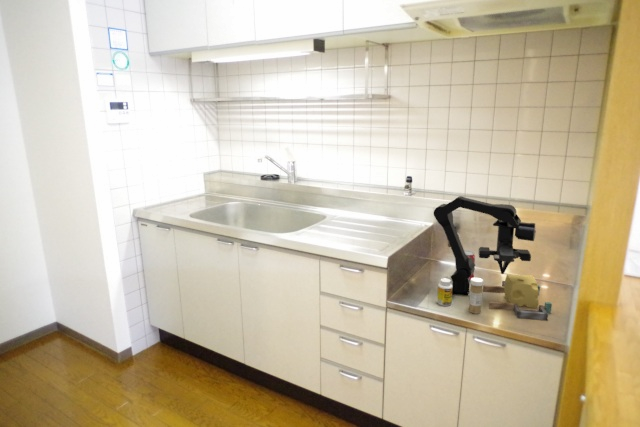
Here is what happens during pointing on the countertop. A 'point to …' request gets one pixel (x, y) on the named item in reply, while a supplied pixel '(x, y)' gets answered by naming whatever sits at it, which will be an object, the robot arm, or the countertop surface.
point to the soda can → (471, 254)
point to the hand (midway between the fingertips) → (502, 273)
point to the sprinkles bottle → (475, 295)
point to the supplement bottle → (445, 292)
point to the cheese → (521, 290)
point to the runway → (520, 313)
